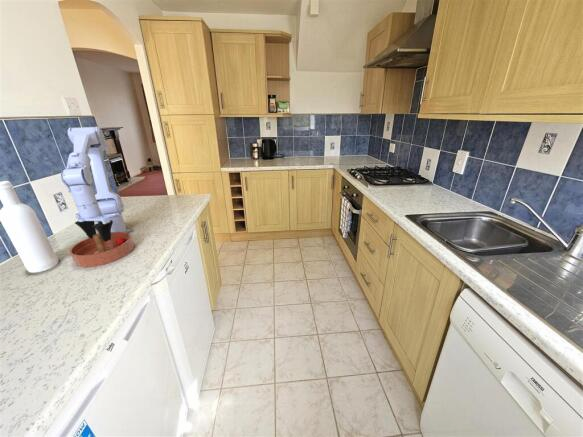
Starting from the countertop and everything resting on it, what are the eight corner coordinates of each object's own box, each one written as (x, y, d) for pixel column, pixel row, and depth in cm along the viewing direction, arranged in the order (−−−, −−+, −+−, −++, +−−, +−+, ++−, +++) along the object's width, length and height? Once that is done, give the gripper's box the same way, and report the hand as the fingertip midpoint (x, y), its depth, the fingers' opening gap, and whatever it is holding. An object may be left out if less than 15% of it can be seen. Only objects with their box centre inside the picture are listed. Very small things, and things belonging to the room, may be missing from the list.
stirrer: (90, 256, 88) (82, 237, 85) (106, 249, 93) (98, 230, 90) (101, 259, 86) (93, 239, 83) (116, 251, 91) (109, 232, 88)
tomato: (112, 241, 94) (117, 236, 96) (117, 247, 96) (123, 241, 98) (117, 241, 93) (122, 235, 95) (122, 246, 94) (128, 241, 97)
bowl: (62, 263, 85) (56, 251, 83) (112, 239, 101) (109, 229, 99) (97, 273, 80) (92, 260, 78) (145, 246, 95) (141, 235, 93)
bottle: (30, 266, 84) (-15, 182, 72) (60, 258, 89) (22, 177, 77) (26, 277, 78) (-24, 187, 67) (58, 268, 83) (16, 182, 71)
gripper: (59, 205, 81) (75, 240, 87) (88, 209, 77) (102, 247, 82) (82, 198, 87) (95, 232, 93) (110, 202, 83) (122, 237, 88)
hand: (100, 238), depth 88 cm, fingers open, 7 cm apart
